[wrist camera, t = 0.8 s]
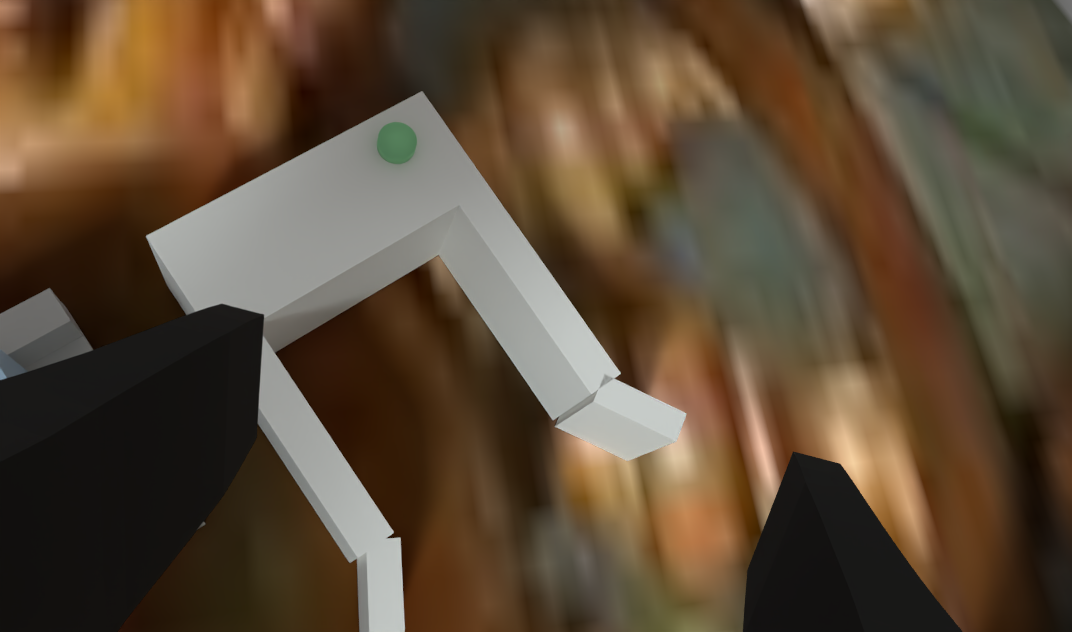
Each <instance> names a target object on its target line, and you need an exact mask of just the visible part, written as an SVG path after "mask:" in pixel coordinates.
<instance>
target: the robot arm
mask: <svg viewBox="0 0 1072 632" xmlns="http://www.w3.org/2000/svg"><path fill="white" fill-rule="evenodd" d="M263 327H264V314H260V313H256V312H252V311H248V310H244V309H241V308H237V307H233V306H229V305H225V304H219V305H215V306H211V307H208V308H205V309H202V310H199V311H196V312H193V313H191V314H188V315H185V316H182V317H180V318H177V319H174V320H172V321H169V322H167V323H164V324H161V325H159V326H156V327H154V328H151V329H148V330H146V331H143V332H140V333H138V334H135V335H132V336H130V337H127V338H124V339H122V340H119V341H116V342H114V343H111V344H108V345H106V346H103V347H100V348H98V349H95V350H92V351H89V352H86V353H83V354H80V355H77V356H74V357H71V358H68V359H65V360H62V361H59V362H56V363H53V364H50V365H47V366H44V367H41V368H38V369H35V370H31V371H28V372H25V373H22V374H19V375H16V376H12V377H9V378H5V379H2V380H0V632H118V630H119V629H120V627H121V626H122V625H123V623H124V622H125V620H126V619H127V618H128V617H129V615H130V614H131V613H132V612H133V610H134V609H135V608H136V606H137V605H138V604H139V603H140V601H141V600H142V599H143V598H144V596H145V595H146V594H147V593H148V591H149V590H150V589H151V588H152V586H153V585H154V584H155V583H156V581H157V580H158V579H159V577H160V576H161V575H162V574H163V572H164V571H165V570H166V569H167V567H168V566H169V565H170V564H171V562H172V561H173V560H174V559H175V557H176V556H177V555H178V554H179V552H180V551H181V550H182V549H183V547H184V546H185V545H186V543H187V542H188V541H189V540H190V538H191V537H192V536H193V535H194V533H195V532H196V531H197V529H198V528H199V527H200V526H201V524H202V523H203V522H204V520H205V519H206V518H207V517H208V515H209V514H210V513H211V511H212V510H213V509H214V507H215V506H216V505H217V504H218V502H219V501H220V500H221V498H222V497H223V495H224V494H225V492H226V490H227V489H228V487H229V485H230V484H231V482H232V480H233V479H234V477H235V475H236V474H237V472H238V470H239V469H240V467H241V465H242V463H243V461H244V460H245V458H246V456H247V454H248V453H249V451H250V449H251V447H252V445H253V444H254V442H255V440H256V438H257V423H258V407H259V391H260V375H261V359H262V343H263ZM743 632H962V630H961V629H960V628H959V627H958V626H957V624H956V623H955V622H954V621H953V619H952V618H951V617H950V616H949V615H948V613H947V612H946V611H945V610H944V608H943V607H942V606H941V605H940V603H939V602H938V601H937V600H936V599H935V597H934V596H933V595H932V593H931V592H930V591H929V589H928V588H927V587H926V585H925V584H924V583H923V582H922V580H921V579H920V578H919V576H918V575H917V574H916V572H915V571H914V569H913V568H912V567H911V565H910V564H909V563H908V561H907V560H906V558H905V557H904V556H903V554H902V553H901V551H900V550H899V549H898V547H897V546H896V544H895V543H894V542H893V540H892V539H891V537H890V536H889V534H888V533H887V531H886V530H885V529H884V527H883V526H882V524H881V523H880V521H879V520H878V518H877V517H876V515H875V514H874V512H873V511H872V509H871V508H870V506H869V505H868V503H867V502H866V500H865V499H864V497H863V496H862V494H861V493H860V491H859V490H858V488H857V487H856V485H855V484H854V483H853V481H852V480H851V478H850V477H849V475H848V474H847V472H846V471H845V470H844V468H843V467H842V466H841V464H839V463H835V462H831V461H827V460H824V459H820V458H816V457H812V456H808V455H804V454H800V453H797V452H793V454H792V456H791V459H790V461H789V464H788V467H787V469H786V472H785V474H784V477H783V480H782V482H781V485H780V487H779V490H778V493H777V495H776V498H775V500H774V503H773V505H772V508H771V511H770V513H769V516H768V518H767V521H766V524H765V526H764V529H763V531H762V534H761V537H760V539H759V542H758V544H757V547H756V550H755V552H754V555H753V557H752V560H751V562H750V565H749V568H748V571H747V583H746V595H745V608H744V624H743Z"/></svg>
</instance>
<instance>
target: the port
mask: <svg viewBox="0 0 1072 632" xmlns="http://www.w3.org/2000/svg"><path fill="white" fill-rule="evenodd" d="M146 238H147V240H148V242H149V245H150V247H151V249H152V252H153V254H154V256H155V259H156V261H157V263H158V266H159V268H160V270H161V273H162V275H163V277H164V280H165V282H166V284H167V286H168V288H169V289H170V291H171V292H172V294H173V295H174V297H175V298H176V300H177V301H178V303H179V304H180V306H181V307H182V309H183V310H184V312H185V314H186V315H188V314H191V313H193V312H196V311H199V310H202V309H205V308H208V307H211V306H215V305H219V304H225V305H229V306H233V307H237V308H241V309H244V310H248V311H252V312H256V313H260V314H264V327H263V343H262V359H261V375H260V391H259V407H258V425H259V426H260V428H261V429H262V431H263V432H264V434H265V435H266V437H267V438H268V440H269V441H270V443H271V444H272V446H273V447H274V449H275V450H276V452H277V453H278V455H279V457H280V458H281V460H282V461H283V463H284V464H285V466H286V467H287V469H288V470H289V472H290V473H291V475H292V476H293V478H294V479H295V481H296V482H297V484H298V485H299V487H300V488H301V490H302V492H303V493H304V495H305V496H306V498H307V499H308V501H309V502H310V504H311V505H312V507H313V508H314V510H315V511H316V513H317V514H318V516H319V517H320V519H321V520H322V522H323V523H324V525H325V527H326V528H327V530H328V531H329V533H330V534H331V536H332V537H333V539H334V540H335V542H336V543H337V545H338V546H339V548H340V549H341V551H342V552H343V554H344V555H345V557H346V558H347V560H348V562H349V563H350V562H352V561H354V560H356V559H357V575H358V605H359V632H405V624H404V602H403V580H402V559H401V537H400V538H387V537H389V536H390V535H392V534H393V533H394V532H393V530H392V529H391V527H390V526H389V524H388V523H387V521H386V520H385V518H384V517H383V515H382V514H381V512H380V511H379V509H378V508H377V506H376V505H375V503H374V502H373V500H372V499H371V497H370V496H369V494H368V493H367V491H366V490H365V488H364V487H363V485H362V484H361V482H360V481H359V479H358V478H357V476H356V475H355V473H354V472H353V470H352V469H351V467H350V466H349V464H348V462H347V461H346V459H345V458H344V456H343V455H342V453H341V452H340V450H339V449H338V447H337V446H336V444H335V443H334V441H333V440H332V438H331V437H330V435H329V434H328V432H327V431H326V429H325V428H324V426H323V425H322V423H321V422H320V420H319V419H318V417H317V416H316V414H315V413H314V411H313V410H312V408H311V407H310V405H309V404H308V402H307V401H306V399H305V398H304V396H303V395H302V393H301V392H300V390H299V389H298V387H297V386H296V384H295V383H294V381H293V380H292V378H291V377H290V375H289V374H288V372H287V371H286V369H285V368H284V366H283V365H282V363H281V362H280V360H279V359H278V357H277V356H276V354H275V352H277V351H278V350H280V349H282V348H283V347H285V346H287V345H288V344H290V343H292V342H294V341H295V340H297V339H299V338H300V337H302V336H304V335H305V334H307V333H309V332H310V331H312V330H314V329H315V328H317V327H319V326H320V325H322V324H324V323H325V322H327V321H329V320H330V319H332V318H334V317H335V316H337V315H339V314H340V313H342V312H344V311H345V310H347V309H349V308H350V307H352V306H354V305H355V304H357V303H359V302H361V301H362V300H364V299H366V298H367V297H369V296H371V295H372V294H374V293H376V292H377V291H379V290H381V289H382V288H384V287H386V286H387V285H389V284H391V283H392V282H394V281H396V280H397V279H399V278H401V277H402V276H404V275H406V274H407V273H409V272H411V271H412V270H414V269H416V268H417V267H419V266H421V265H423V264H424V263H426V262H428V261H429V260H431V259H433V258H434V257H436V256H438V255H439V256H440V258H441V259H442V261H443V262H444V264H445V265H446V266H447V268H448V269H449V271H450V272H451V274H452V275H453V277H454V278H455V279H456V281H457V282H458V284H459V285H460V287H461V288H462V290H463V291H464V292H465V294H466V295H467V297H468V298H469V300H470V301H471V303H472V304H473V305H474V307H475V308H476V310H477V311H478V313H479V314H480V316H481V317H482V319H483V320H484V321H485V323H486V324H487V326H488V327H489V329H490V330H491V332H492V333H493V334H494V336H495V337H496V339H497V340H498V342H499V343H500V345H501V346H502V347H503V349H504V350H505V352H506V353H507V355H508V356H509V358H510V359H511V360H512V362H513V363H514V365H515V366H516V368H517V369H518V371H519V372H520V373H521V375H522V376H523V378H524V379H525V381H526V382H527V384H528V385H529V386H530V388H531V389H532V391H533V392H534V394H535V395H536V397H537V398H538V399H539V401H540V402H541V404H542V405H543V407H544V408H545V410H546V411H547V412H548V414H549V415H550V417H551V418H552V420H554V419H556V418H557V417H559V418H558V420H557V423H556V425H555V427H557V428H559V429H561V430H563V431H565V432H567V433H569V434H571V435H574V436H576V437H578V438H580V439H582V440H584V441H586V442H588V443H590V444H592V445H595V446H597V447H599V448H601V449H603V450H605V451H607V452H609V453H611V454H613V455H616V456H618V457H620V458H622V459H624V460H626V461H629V460H631V459H634V458H636V457H639V456H641V455H644V454H646V453H649V452H651V451H654V450H656V449H659V448H661V447H664V446H666V445H669V444H671V443H674V442H676V441H677V439H678V436H679V433H680V431H681V428H682V425H683V422H684V420H685V417H686V413H684V412H682V411H680V410H678V409H676V408H674V407H672V406H670V405H668V404H666V403H664V402H662V401H660V400H657V399H655V398H653V397H651V396H649V395H647V394H645V393H643V392H641V391H639V390H637V389H635V388H633V387H631V386H629V385H626V384H624V383H622V382H620V381H618V380H616V379H614V378H616V377H617V376H618V375H620V374H621V373H620V371H619V370H618V369H617V367H616V366H615V364H614V363H613V362H612V360H611V359H610V357H609V356H608V354H607V353H606V352H605V350H604V349H603V347H602V346H601V344H600V343H599V342H598V340H597V339H596V337H595V336H594V335H593V333H592V332H591V330H590V329H589V327H588V326H587V325H586V323H585V322H584V320H583V319H582V317H581V316H580V315H579V313H578V312H577V310H576V309H575V308H574V306H573V305H572V303H571V302H570V300H569V299H568V298H567V296H566V295H565V293H564V292H563V290H562V289H561V288H560V286H559V285H558V283H557V282H556V281H555V279H554V278H553V276H552V275H551V273H550V272H549V271H548V269H547V268H546V266H545V265H544V263H543V262H542V261H541V259H540V258H539V256H538V255H537V253H536V252H535V251H534V249H533V248H532V246H531V245H530V244H529V242H528V241H527V239H526V238H525V236H524V235H523V234H522V232H521V231H520V229H519V228H518V226H517V225H516V224H515V222H514V221H513V219H512V218H511V217H510V215H509V214H508V212H507V211H506V209H505V208H504V207H503V205H502V204H501V202H500V201H499V199H498V198H497V197H496V195H495V194H494V192H493V191H492V190H491V188H490V187H489V185H488V184H487V182H486V181H485V180H484V178H483V177H482V175H481V174H480V172H479V171H478V170H477V168H476V167H475V165H474V164H473V162H472V161H471V160H470V158H469V157H468V155H467V154H466V153H465V151H464V150H463V148H462V147H461V145H460V144H459V143H458V141H457V140H456V138H455V137H454V135H453V134H452V133H451V131H450V130H449V128H448V127H447V126H446V124H445V123H444V121H443V120H442V118H441V117H440V116H439V114H438V113H437V111H436V110H435V108H434V107H433V106H432V104H431V103H430V101H429V100H428V99H427V97H426V96H425V94H424V93H423V91H421V92H420V93H418V94H416V95H414V96H412V97H410V98H408V99H406V100H404V101H402V102H400V103H399V104H397V105H395V106H393V107H391V108H389V109H387V110H385V111H383V112H381V113H380V114H378V115H376V116H374V117H372V118H370V119H368V120H366V121H364V122H362V123H360V124H359V125H357V126H355V127H353V128H351V129H349V130H347V131H345V132H343V133H341V134H339V135H338V136H336V137H334V138H332V139H330V140H328V141H326V142H324V143H322V144H320V145H318V146H317V147H315V148H313V149H311V150H309V151H307V152H305V153H303V154H301V155H299V156H298V157H296V158H294V159H292V160H290V161H288V162H286V163H284V164H282V165H280V166H278V167H277V168H275V169H273V170H271V171H269V172H267V173H265V174H263V175H261V176H259V177H257V178H256V179H254V180H252V181H250V182H248V183H246V184H244V185H242V186H240V187H238V188H237V189H235V190H233V191H231V192H229V193H227V194H225V195H223V196H221V197H219V198H217V199H216V200H214V201H212V202H210V203H208V204H206V205H204V206H202V207H200V208H198V209H196V210H195V211H193V212H191V213H189V214H187V215H185V216H183V217H181V218H179V219H177V220H175V221H174V222H172V223H170V224H168V225H166V226H164V227H162V228H160V229H158V230H156V231H155V232H153V233H151V234H149V235H147V236H146ZM386 538H387V539H386Z"/></svg>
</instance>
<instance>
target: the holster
mask: <svg viewBox="0 0 1072 632" xmlns="http://www.w3.org/2000/svg"><path fill="white" fill-rule="evenodd" d="M0 349H1V350H2V351H3V352H5V353H6V354H7V355H8V356H9V357H11V358H12V359H13V360H14V361H16V362H17V363H18V364H19V365H21V366H22V367H23V368H24V369H25V370H27V371H31V370H35V369H38V368H41V367H44V366H47V365H50V364H53V363H56V362H59V361H62V360H65V359H68V358H71V357H74V356H77V355H80V354H83V353H86V352H89V351H92V350H93V348H92V347H91V345H90V344H89V342H88V341H87V339H86V337H85V336H84V334H83V333H82V331H81V330H80V328H79V327H78V325H77V323H76V322H75V320H74V319H73V317H72V316H71V314H70V313H69V311H68V309H67V308H66V307H65V305H64V304H63V303H62V302H61V301H60V300H59V299H58V298H57V296H56V295H55V294H54V293H53V291H52V290H51V289H50V288H49V289H47V290H45V291H43V292H41V293H39V294H37V295H35V296H33V297H31V298H30V299H28V300H26V301H24V302H22V303H20V304H18V305H16V306H14V307H12V308H11V309H9V310H7V311H5V312H3V313H1V314H0ZM204 525H205V522H203V523H202V524H201V526H200V527H199V528H201V527H202V526H204ZM199 528H198V529H199ZM198 529H197V530H198Z"/></svg>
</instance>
